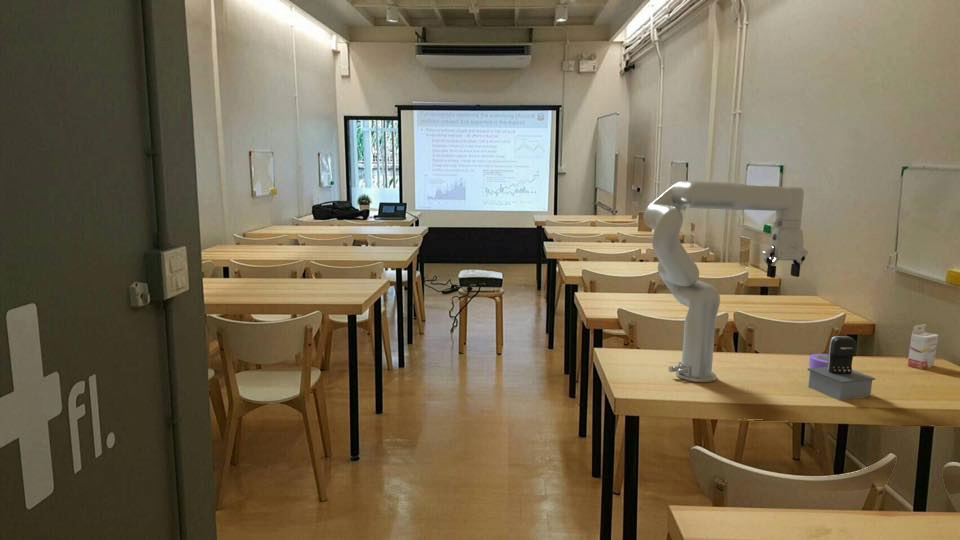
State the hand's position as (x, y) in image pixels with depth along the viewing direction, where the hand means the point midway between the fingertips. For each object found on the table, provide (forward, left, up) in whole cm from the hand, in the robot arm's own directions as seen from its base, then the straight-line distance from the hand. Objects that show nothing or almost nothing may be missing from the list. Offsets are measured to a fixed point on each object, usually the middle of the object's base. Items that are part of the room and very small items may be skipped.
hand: (782, 276), depth 212 cm
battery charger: (+7, -20, -28) cm, 35 cm away
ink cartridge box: (+58, -7, -34) cm, 67 cm away
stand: (+7, -20, -33) cm, 39 cm away
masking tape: (+23, 0, -34) cm, 41 cm away
